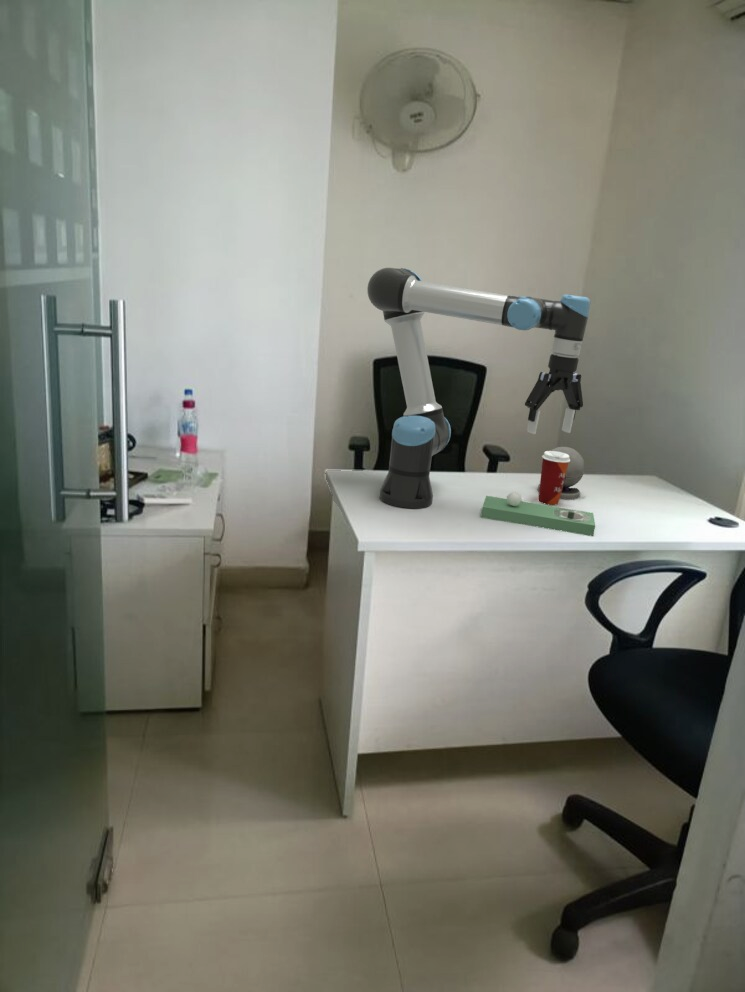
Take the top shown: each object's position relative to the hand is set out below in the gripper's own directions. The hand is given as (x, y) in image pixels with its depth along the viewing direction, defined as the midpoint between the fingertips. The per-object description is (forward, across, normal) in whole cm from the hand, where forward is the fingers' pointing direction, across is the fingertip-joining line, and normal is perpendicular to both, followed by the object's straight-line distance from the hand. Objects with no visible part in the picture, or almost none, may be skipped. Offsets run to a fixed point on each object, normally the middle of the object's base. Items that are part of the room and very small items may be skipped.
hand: (548, 432), depth 196 cm
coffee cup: (+24, +12, +6) cm, 27 cm away
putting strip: (+24, -4, -6) cm, 24 cm away
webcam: (+24, +22, +11) cm, 34 cm away
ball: (+19, -9, -1) cm, 21 cm away
